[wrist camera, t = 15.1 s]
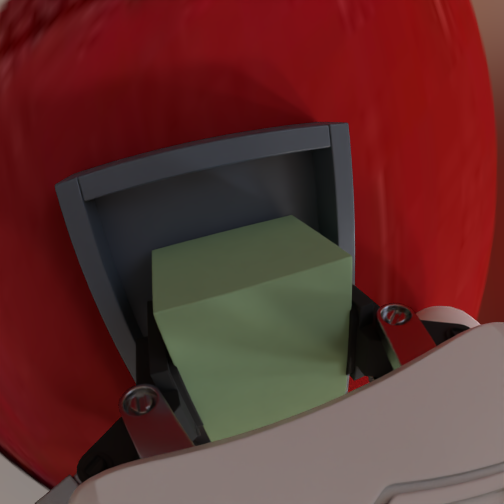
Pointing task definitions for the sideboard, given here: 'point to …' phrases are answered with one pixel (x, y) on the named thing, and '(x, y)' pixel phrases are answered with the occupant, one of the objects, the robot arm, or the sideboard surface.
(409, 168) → the sideboard surface
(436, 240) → the sideboard surface
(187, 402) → the robot arm
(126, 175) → the holder
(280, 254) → the green block
